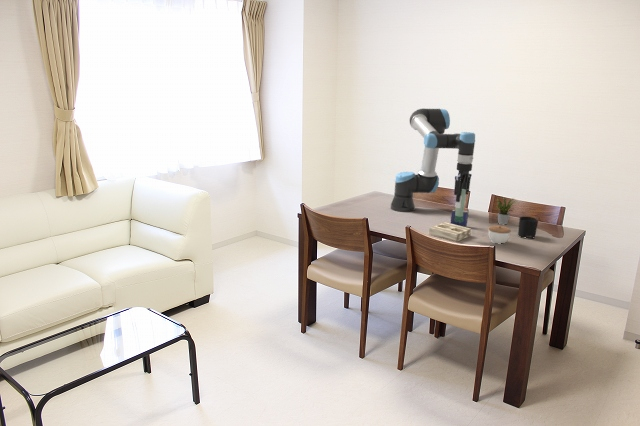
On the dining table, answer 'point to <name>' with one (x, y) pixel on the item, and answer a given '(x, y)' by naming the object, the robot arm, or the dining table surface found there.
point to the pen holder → (527, 227)
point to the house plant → (504, 211)
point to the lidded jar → (499, 233)
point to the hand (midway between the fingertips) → (460, 206)
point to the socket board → (450, 232)
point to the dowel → (460, 210)
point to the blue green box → (459, 219)
